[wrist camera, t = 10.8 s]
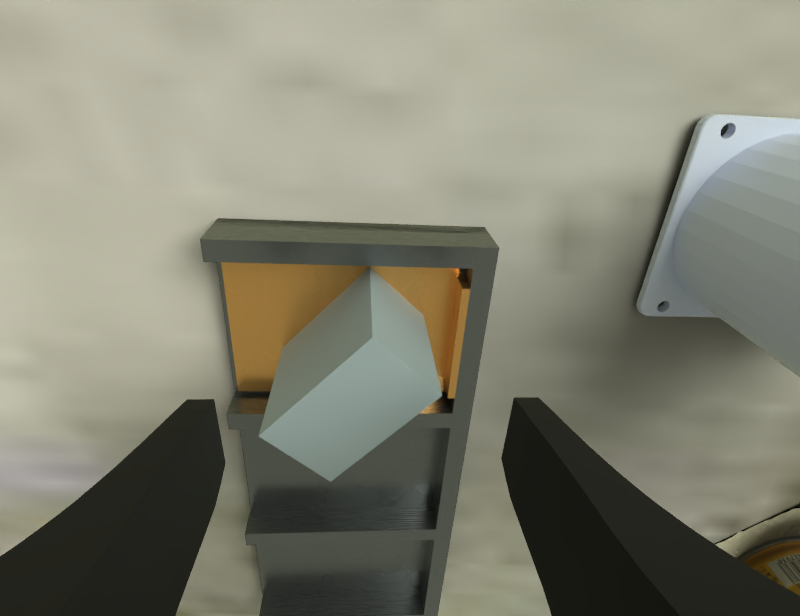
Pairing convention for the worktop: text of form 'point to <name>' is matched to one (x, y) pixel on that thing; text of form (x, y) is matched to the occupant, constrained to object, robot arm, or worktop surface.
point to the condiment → (771, 548)
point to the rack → (394, 457)
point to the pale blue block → (351, 378)
